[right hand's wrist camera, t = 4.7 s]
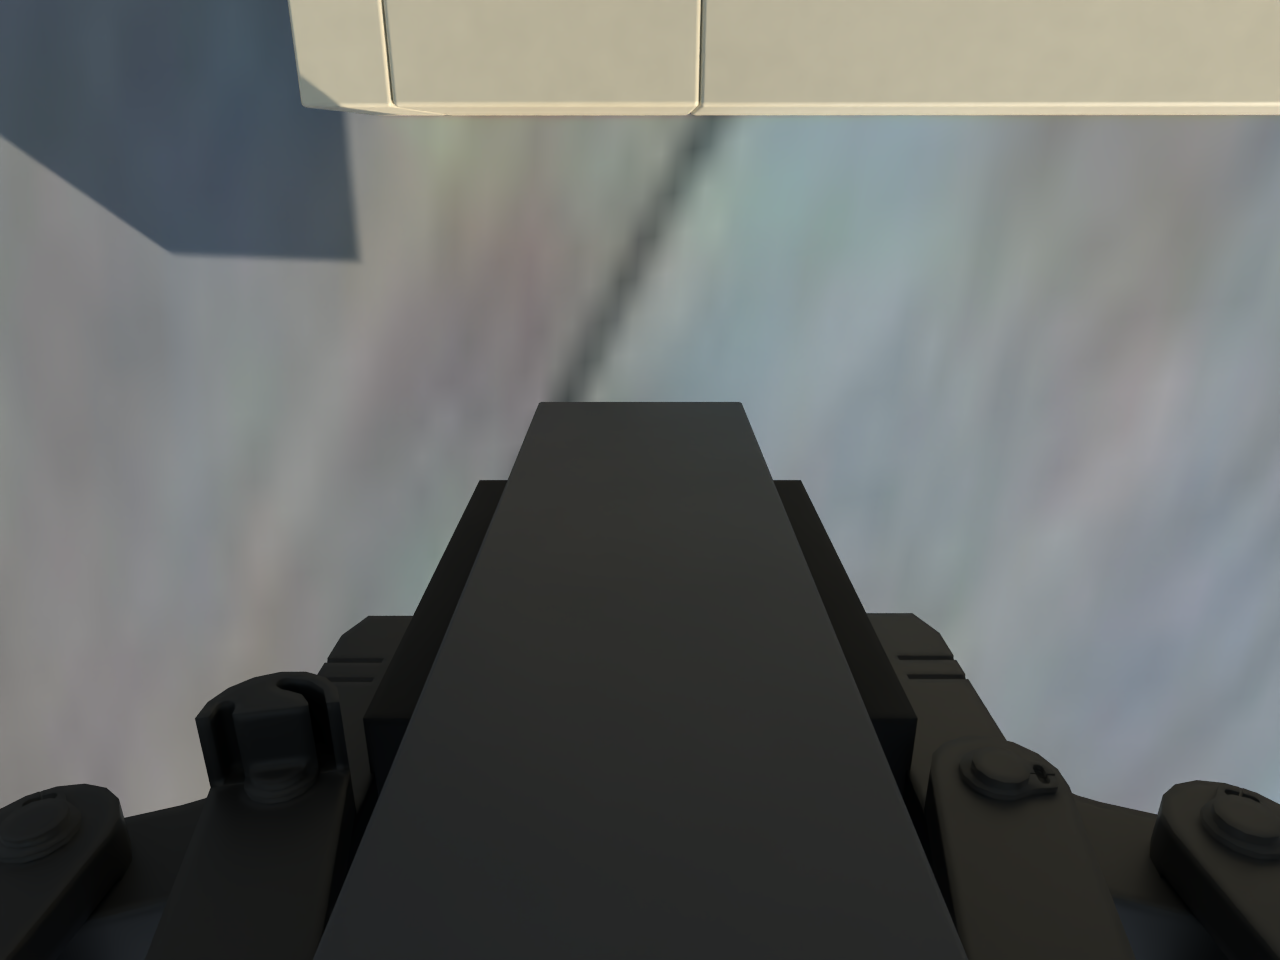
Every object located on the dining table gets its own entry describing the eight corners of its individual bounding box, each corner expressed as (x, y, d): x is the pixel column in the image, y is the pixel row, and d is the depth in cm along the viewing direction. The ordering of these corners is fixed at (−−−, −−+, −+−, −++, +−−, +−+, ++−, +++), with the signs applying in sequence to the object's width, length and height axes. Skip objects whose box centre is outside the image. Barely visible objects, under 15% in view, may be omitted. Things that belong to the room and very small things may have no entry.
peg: (546, 582, 18) (298, 1713, 5) (538, 401, 17) (159, 1315, 4) (734, 582, 18) (982, 1709, 5) (742, 401, 17) (1120, 1317, 4)
